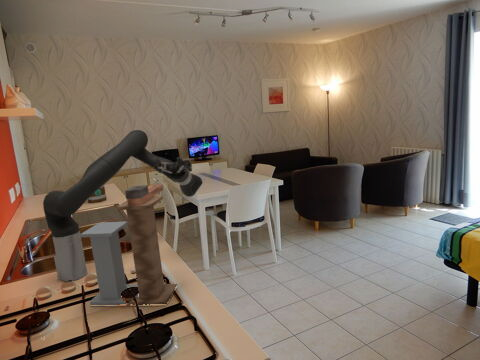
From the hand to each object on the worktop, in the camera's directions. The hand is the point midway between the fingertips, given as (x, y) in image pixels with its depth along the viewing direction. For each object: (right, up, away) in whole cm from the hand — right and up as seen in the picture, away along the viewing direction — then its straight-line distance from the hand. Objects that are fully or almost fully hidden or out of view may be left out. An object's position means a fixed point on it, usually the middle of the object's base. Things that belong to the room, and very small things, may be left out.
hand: (167, 160), depth 131 cm
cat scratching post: (0, -45, -19) cm, 49 cm away
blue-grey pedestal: (-13, -46, -17) cm, 51 cm away
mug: (-80, -24, +124) cm, 149 cm away
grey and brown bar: (-2, -13, -20) cm, 24 cm away
